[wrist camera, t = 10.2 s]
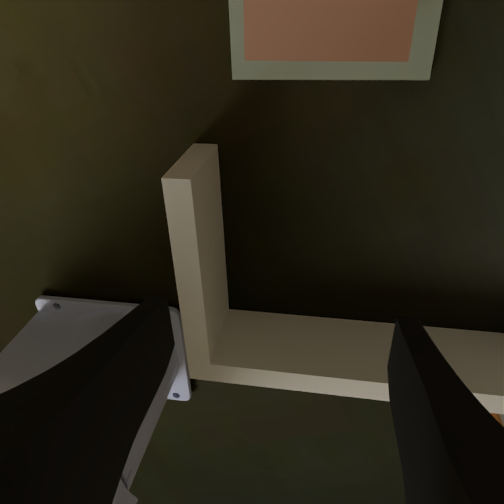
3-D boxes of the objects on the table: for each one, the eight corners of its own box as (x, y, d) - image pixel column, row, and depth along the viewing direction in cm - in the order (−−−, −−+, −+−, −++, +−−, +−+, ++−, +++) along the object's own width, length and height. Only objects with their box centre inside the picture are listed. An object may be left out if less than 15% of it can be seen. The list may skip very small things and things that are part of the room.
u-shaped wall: (211, 322, 27) (189, 378, 23) (193, 143, 21) (161, 178, 17) (537, 353, 24) (574, 422, 20) (621, 154, 18) (695, 199, 14)
